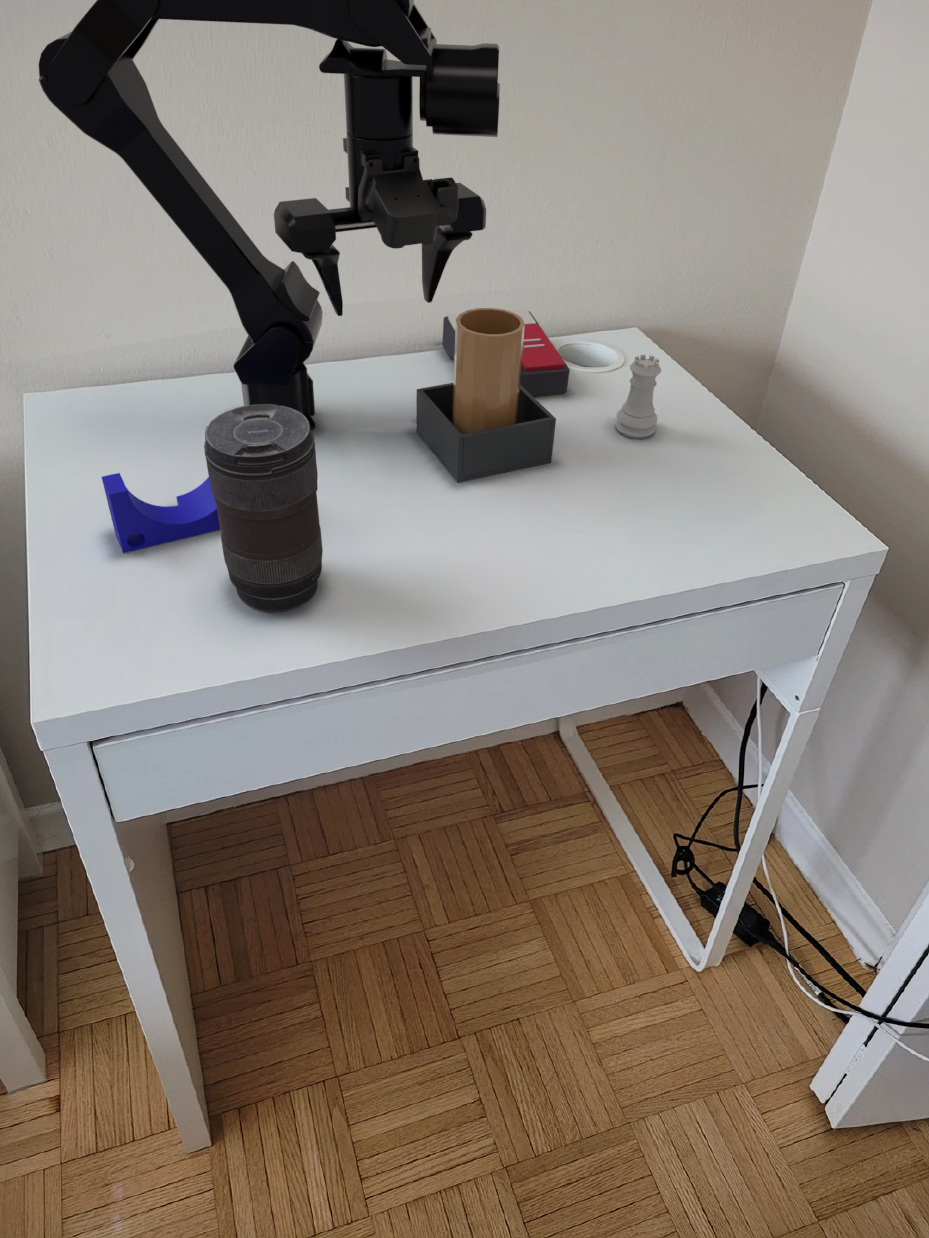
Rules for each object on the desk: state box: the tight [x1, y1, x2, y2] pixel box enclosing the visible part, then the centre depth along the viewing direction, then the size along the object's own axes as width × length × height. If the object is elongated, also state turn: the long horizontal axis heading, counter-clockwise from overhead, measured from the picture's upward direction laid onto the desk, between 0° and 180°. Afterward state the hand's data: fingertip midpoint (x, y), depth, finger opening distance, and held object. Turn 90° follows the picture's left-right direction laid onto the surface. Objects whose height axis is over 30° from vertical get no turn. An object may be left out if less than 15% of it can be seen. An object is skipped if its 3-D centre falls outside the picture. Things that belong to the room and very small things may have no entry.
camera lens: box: [203, 404, 324, 613], centre depth 74 cm, size 8×8×15 cm
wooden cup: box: [452, 307, 525, 435], centre depth 93 cm, size 6×6×13 cm
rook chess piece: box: [614, 354, 662, 439], centre depth 99 cm, size 4×4×8 cm
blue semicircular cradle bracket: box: [101, 472, 220, 554], centre depth 84 cm, size 12×4×6 cm, turn 118°
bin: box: [415, 382, 557, 483], centre depth 96 cm, size 10×10×5 cm
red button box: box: [442, 309, 570, 397], centre depth 111 cm, size 11×4×15 cm
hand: (384, 308), depth 92 cm, fingers open, 9 cm apart
